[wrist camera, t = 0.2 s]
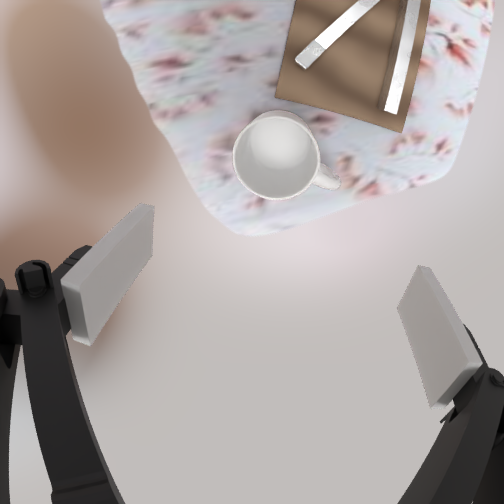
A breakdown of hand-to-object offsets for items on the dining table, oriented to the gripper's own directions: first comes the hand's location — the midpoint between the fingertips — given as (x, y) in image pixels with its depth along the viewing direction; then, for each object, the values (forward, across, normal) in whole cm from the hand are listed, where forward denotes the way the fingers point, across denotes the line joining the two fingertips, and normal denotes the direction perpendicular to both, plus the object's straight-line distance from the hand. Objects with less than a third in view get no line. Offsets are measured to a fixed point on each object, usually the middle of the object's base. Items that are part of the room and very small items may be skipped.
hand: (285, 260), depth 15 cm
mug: (+27, 0, 0) cm, 27 cm away
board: (+27, +5, +17) cm, 32 cm away
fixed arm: (+26, +9, +18) cm, 33 cm away
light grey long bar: (+26, +3, +17) cm, 31 cm away
